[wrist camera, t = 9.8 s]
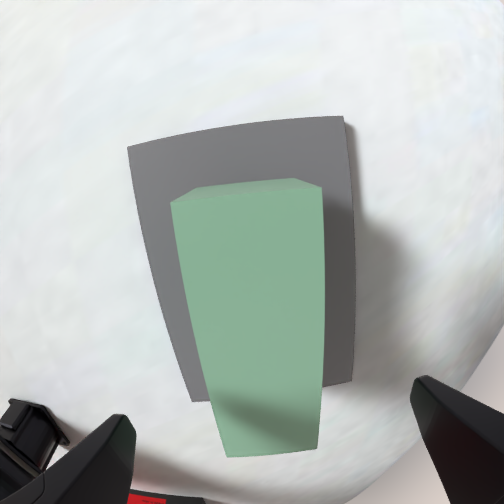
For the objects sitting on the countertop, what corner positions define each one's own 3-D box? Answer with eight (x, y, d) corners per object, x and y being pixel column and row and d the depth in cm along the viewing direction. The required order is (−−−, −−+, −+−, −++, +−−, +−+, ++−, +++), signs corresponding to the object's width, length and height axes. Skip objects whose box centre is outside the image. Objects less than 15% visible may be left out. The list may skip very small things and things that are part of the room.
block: (302, 385, 17) (317, 448, 12) (229, 392, 17) (226, 457, 12) (294, 177, 13) (321, 187, 8) (196, 187, 13) (170, 202, 8)
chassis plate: (348, 373, 21) (361, 403, 17) (193, 393, 21) (187, 425, 18) (337, 118, 16) (359, 109, 12) (133, 147, 16) (108, 145, 12)
